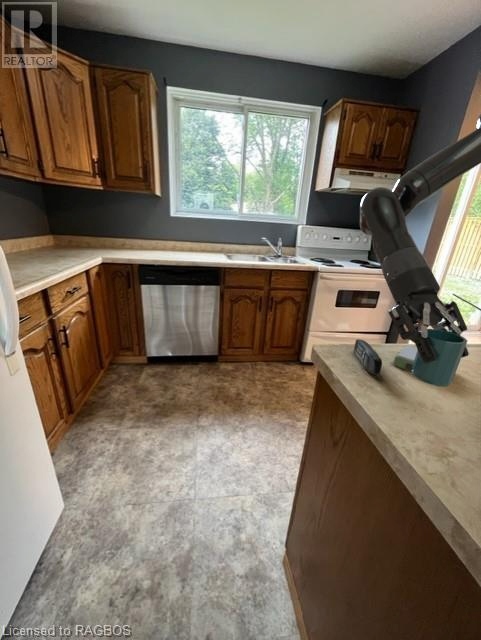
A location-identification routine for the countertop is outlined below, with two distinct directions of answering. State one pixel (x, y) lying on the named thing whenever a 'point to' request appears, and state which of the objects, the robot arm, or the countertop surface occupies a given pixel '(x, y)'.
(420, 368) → the teal cup
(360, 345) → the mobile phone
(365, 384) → the countertop surface
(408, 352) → the kitchen scale
